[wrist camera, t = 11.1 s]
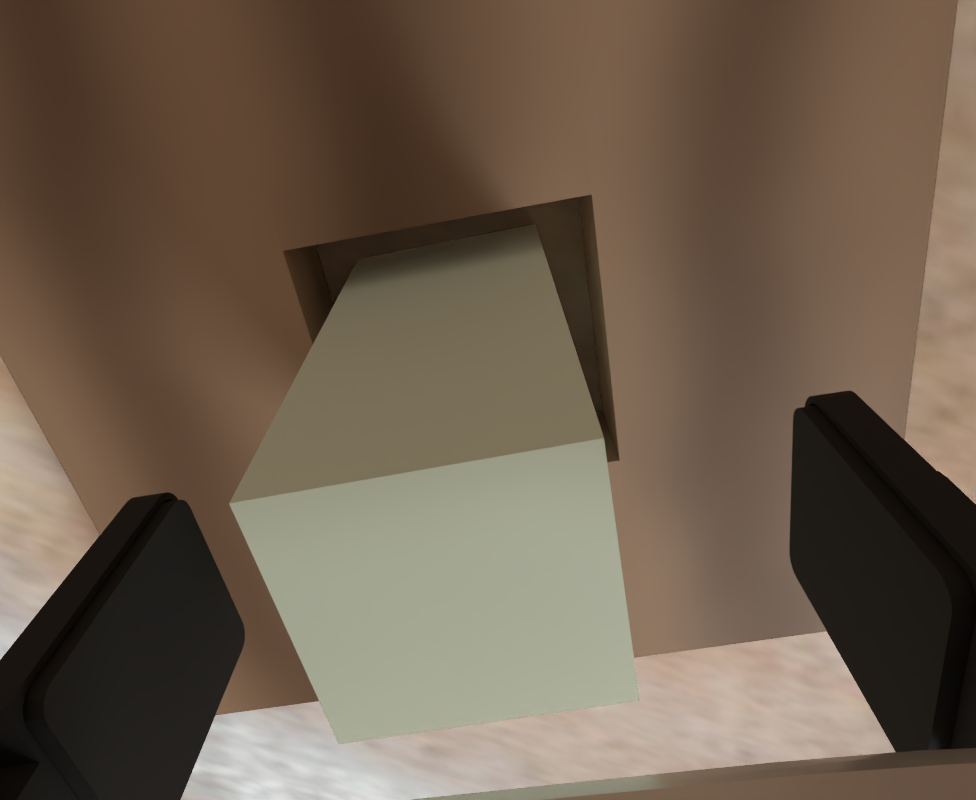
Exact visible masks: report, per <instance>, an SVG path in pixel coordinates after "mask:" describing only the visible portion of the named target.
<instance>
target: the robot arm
mask: <svg viewBox="0 0 976 800" xmlns="http://www.w3.org/2000/svg"><path fill="white" fill-rule="evenodd" d="M789 553H790V561H791V565H792V568H793V571H794V574H795V576H796V578H797V580H798V581H799V583H800V585H801V587H802V588H803V590H804V592H805V594H806V595H807V597H808V599H809V601H810V602H811V604H812V606H813V608H814V609H815V611H816V613H817V615H818V616H819V618H820V620H821V622H822V623H823V625H824V627H825V629H826V630H827V632H828V634H829V636H830V637H831V639H832V641H833V643H834V644H835V646H836V648H837V650H838V651H839V653H840V655H841V657H842V658H843V660H844V662H845V664H846V665H847V667H848V669H849V671H850V672H851V674H852V676H853V678H854V679H855V681H856V683H857V685H858V686H859V688H860V690H861V692H862V694H863V695H864V697H865V699H866V701H867V702H868V704H869V706H870V708H871V709H872V711H873V713H874V715H875V716H876V718H877V720H878V722H879V723H880V725H881V727H882V729H883V730H884V732H885V734H886V736H887V737H888V739H889V741H890V743H891V744H892V746H893V748H894V750H895V751H896V752H894V753H882V754H871V755H859V756H847V757H835V758H823V759H811V760H799V761H787V762H775V763H765V764H755V765H745V766H735V767H725V768H715V769H705V770H695V771H685V772H675V773H665V774H655V775H645V776H635V777H625V778H616V779H606V780H596V781H586V782H576V783H566V784H556V785H546V786H537V787H527V788H518V789H508V790H499V791H490V792H480V793H471V794H461V795H452V796H442V797H433V798H423V799H414V800H976V505H975V504H974V503H973V502H972V501H971V500H970V499H969V498H968V497H967V496H966V495H965V494H964V493H963V492H962V491H961V490H960V489H959V488H958V487H957V486H956V485H954V484H953V483H952V482H951V481H950V480H949V479H948V478H947V477H946V476H944V475H943V474H941V473H940V472H939V471H936V470H935V469H934V468H933V467H932V466H931V465H930V464H929V463H928V462H927V461H926V460H925V459H924V458H923V457H921V456H920V455H919V454H918V453H917V452H916V451H915V450H914V449H913V448H912V447H911V446H910V445H909V444H908V443H907V442H906V441H905V440H904V439H903V438H902V437H901V436H900V435H899V434H898V433H896V432H895V431H894V430H893V429H892V428H891V427H890V426H889V425H888V424H887V423H886V422H885V421H884V420H883V419H882V418H881V417H880V416H879V415H878V414H877V413H876V412H875V411H874V410H873V409H871V408H870V407H869V406H868V405H867V404H866V403H865V402H864V401H863V400H862V399H861V398H860V397H859V396H858V395H857V394H856V393H854V392H853V391H841V392H835V393H828V394H821V395H815V396H809V397H808V398H807V400H806V403H805V407H801V408H797V409H796V410H795V411H794V415H793V439H792V474H791V510H790V545H789ZM244 642H245V629H244V625H243V622H242V619H241V617H240V615H239V613H238V611H237V609H236V606H235V604H234V602H233V600H232V598H231V595H230V593H229V591H228V589H227V587H226V584H225V582H224V580H223V578H222V576H221V574H220V571H219V569H218V567H217V565H216V563H215V560H214V558H213V556H212V554H211V552H210V549H209V547H208V545H207V543H206V541H205V539H204V536H203V534H202V532H201V530H200V528H199V525H198V523H197V521H196V519H195V517H194V514H193V512H192V510H191V508H190V506H189V505H188V503H187V502H186V501H185V500H181V499H180V500H178V498H177V497H176V496H175V495H174V494H172V493H169V492H166V493H159V494H153V495H146V496H139V497H134V498H131V499H130V500H128V501H127V502H126V503H125V505H124V506H123V507H122V508H121V510H120V511H119V512H118V513H117V515H116V516H115V517H114V518H113V520H112V521H111V522H110V524H109V525H108V526H107V527H106V529H105V530H104V531H103V532H102V534H101V535H100V536H99V537H98V539H97V540H96V541H95V542H94V544H93V545H92V546H91V547H90V549H89V550H88V551H87V552H86V554H85V555H84V556H83V557H82V559H81V560H80V561H79V562H78V564H77V565H76V566H75V567H74V569H73V570H72V571H71V572H70V574H69V575H68V576H67V577H66V579H65V580H64V581H63V582H62V584H61V585H60V586H59V587H58V589H57V590H56V591H55V592H54V594H53V595H52V596H51V597H50V599H49V600H48V601H47V602H46V604H45V605H44V606H43V607H42V609H41V610H40V611H39V612H38V614H37V615H36V616H35V617H34V619H33V620H32V621H31V622H30V624H29V625H28V626H27V627H26V629H25V630H24V631H23V632H22V634H21V635H20V636H19V637H18V639H17V640H16V641H15V642H14V644H13V645H12V646H11V647H10V649H9V650H8V651H7V652H6V654H5V655H4V656H3V658H2V659H1V660H0V800H180V799H181V797H182V795H183V792H184V790H185V787H186V785H187V782H188V780H189V778H190V775H191V773H192V770H193V768H194V765H195V763H196V761H197V758H198V756H199V753H200V751H201V748H202V746H203V744H204V741H205V739H206V736H207V734H208V732H209V729H210V727H211V724H212V722H213V719H214V717H215V715H216V712H217V710H218V707H219V705H220V702H221V700H222V698H223V695H224V693H225V690H226V688H227V686H228V683H229V681H230V678H231V676H232V673H233V671H234V669H235V666H236V664H237V661H238V659H239V656H240V654H241V652H242V649H243V646H244Z"/></svg>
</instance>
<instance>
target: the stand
mask: <svg viewBox="0 0 976 800" xmlns="http://www.w3.org/2000/svg"><path fill="white" fill-rule="evenodd" d="M957 2H958V0H0V355H1V357H2V359H3V361H4V363H5V364H6V366H7V368H8V370H9V372H10V373H11V375H12V377H13V379H14V381H15V382H16V384H17V386H18V388H19V390H20V391H21V393H22V395H23V397H24V399H25V401H26V402H27V404H28V406H29V408H30V410H31V411H32V413H33V415H34V417H35V419H36V420H37V422H38V424H39V426H40V428H41V429H42V431H43V433H44V435H45V437H46V438H47V440H48V442H49V444H50V446H51V447H52V449H53V451H54V453H55V455H56V456H57V458H58V460H59V462H60V464H61V465H62V467H63V469H64V471H65V473H66V474H67V476H68V478H69V480H70V482H71V483H72V485H73V487H74V489H75V491H76V493H77V494H78V496H79V498H80V500H81V502H82V503H83V505H84V507H85V509H86V511H87V512H88V514H89V516H90V518H91V520H92V521H93V523H94V525H95V527H96V529H97V530H98V532H99V534H100V535H101V534H102V532H103V531H104V530H105V529H106V527H107V526H108V525H109V524H110V522H111V521H112V520H113V518H114V517H115V516H116V515H117V513H118V512H119V511H120V510H121V508H122V507H123V506H124V505H125V503H126V502H127V501H128V500H130V499H131V498H134V497H139V496H146V495H153V494H159V493H166V492H169V493H172V494H174V495H175V496H176V497H177V498H178V500H180V499H181V500H185V501H186V502H187V503H188V505H189V506H190V508H191V510H192V512H193V514H194V517H195V519H196V521H197V523H198V525H199V528H200V530H201V532H202V534H203V536H204V539H205V541H206V543H207V545H208V547H209V549H210V552H211V554H212V556H213V558H214V560H215V563H216V565H217V567H218V569H219V571H220V574H221V576H222V578H223V580H224V582H225V584H226V587H227V589H228V591H229V593H230V595H231V598H232V600H233V602H234V604H235V606H236V609H237V611H238V613H239V615H240V617H241V619H242V622H243V625H244V629H245V642H244V646H243V649H242V652H241V654H240V656H239V659H238V661H237V664H236V666H235V669H234V671H233V673H232V676H231V678H230V681H229V683H228V686H227V688H226V690H225V693H224V695H223V698H222V700H221V702H220V705H219V707H218V710H217V712H216V715H220V714H227V713H235V712H242V711H249V710H257V709H264V708H271V707H278V706H286V705H293V704H300V703H307V702H315V701H319V700H318V697H317V695H316V693H315V691H314V689H313V686H312V684H311V682H310V680H309V678H308V675H307V673H306V671H305V669H304V667H303V665H302V662H301V660H300V658H299V656H298V654H297V651H296V649H295V647H294V645H293V643H292V640H291V638H290V636H289V634H288V632H287V629H286V627H285V625H284V623H283V621H282V618H281V616H280V614H279V612H278V610H277V608H276V605H275V603H274V601H273V599H272V597H271V594H270V592H269V590H268V588H267V586H266V583H265V581H264V579H263V577H262V575H261V572H260V570H259V568H258V566H257V564H256V561H255V559H254V557H253V555H252V553H251V551H250V548H249V546H248V544H247V542H246V540H245V537H244V535H243V533H242V531H241V529H240V526H239V524H238V522H237V520H236V518H235V515H234V513H233V511H232V509H231V507H230V504H229V503H230V501H231V499H232V497H233V495H234V493H235V491H236V489H237V487H238V486H239V484H240V482H241V480H242V478H243V476H244V474H245V472H246V470H247V468H248V467H249V465H250V463H251V461H252V459H253V457H254V455H255V453H256V451H257V450H258V448H259V446H260V444H261V442H262V440H263V438H264V436H265V434H266V432H267V431H268V429H269V427H270V425H271V423H272V421H273V419H274V417H275V415H276V414H277V412H278V410H279V408H280V406H281V404H282V402H283V400H284V398H285V396H286V395H287V393H288V391H289V389H290V387H291V385H292V383H293V381H294V379H295V377H296V376H297V374H298V372H299V370H300V368H301V366H302V364H303V362H304V360H305V359H306V357H307V355H308V353H309V351H310V349H311V347H312V345H313V343H314V341H315V340H316V338H317V336H318V334H319V332H320V330H321V328H322V326H323V324H324V323H325V321H326V319H327V317H328V315H329V313H330V311H331V309H332V307H333V303H332V299H331V296H330V293H329V289H328V286H327V282H326V279H325V276H324V272H323V269H322V266H321V262H320V259H319V255H318V252H317V249H316V245H318V244H324V243H329V242H334V241H340V240H345V239H351V238H356V237H362V236H367V235H373V234H378V233H384V232H389V231H395V230H400V229H406V228H411V227H417V226H422V225H427V224H433V223H438V222H444V221H449V220H455V219H460V218H466V217H471V216H477V215H482V214H488V213H493V212H499V211H504V210H510V209H515V208H520V207H526V206H531V205H537V204H542V203H548V202H553V201H559V200H564V199H570V198H575V197H578V198H579V206H580V215H581V224H582V233H583V242H584V250H585V259H586V268H587V277H588V286H589V295H590V303H591V312H592V321H593V330H594V339H595V347H596V356H597V365H598V374H599V383H600V392H601V400H602V409H603V411H600V412H596V415H597V418H598V421H599V424H600V427H601V430H602V433H603V437H604V442H605V449H606V456H607V464H608V471H609V478H610V486H611V493H612V500H613V508H614V515H615V522H616V530H617V537H618V544H619V552H620V559H621V566H622V574H623V581H624V588H625V596H626V603H627V610H628V618H629V625H630V632H631V640H632V647H633V654H634V658H635V657H642V656H649V655H657V654H664V653H671V652H678V651H686V650H693V649H700V648H707V647H715V646H722V645H729V644H737V643H744V642H751V641H758V640H766V639H773V638H780V637H787V636H795V635H802V634H809V633H817V632H824V631H827V630H826V629H825V627H824V625H823V623H822V622H821V620H820V618H819V616H818V615H817V613H816V611H815V609H814V608H813V606H812V604H811V602H810V601H809V599H808V597H807V595H806V594H805V592H804V590H803V588H802V587H801V585H800V583H799V581H798V580H797V578H796V576H795V574H794V571H793V568H792V565H791V561H790V553H789V545H790V510H791V474H792V439H793V415H794V411H795V410H796V409H797V408H801V407H805V403H806V400H807V398H808V397H809V396H815V395H821V394H828V393H835V392H841V391H853V392H854V393H856V394H857V395H858V396H859V397H860V398H861V399H862V400H863V401H864V402H865V403H866V404H867V405H868V406H869V407H870V408H871V409H873V410H874V411H875V412H876V413H877V414H878V415H879V416H880V417H881V418H882V419H883V420H884V421H885V422H886V423H887V424H888V425H889V426H890V427H891V428H892V429H893V430H894V431H895V432H896V433H898V434H899V435H900V436H901V437H902V438H903V439H904V437H905V429H906V421H907V412H908V404H909V396H910V388H911V380H912V371H913V363H914V355H915V347H916V339H917V330H918V322H919V314H920V306H921V298H922V289H923V281H924V273H925V265H926V257H927V248H928V240H929V232H930V224H931V216H932V207H933V199H934V191H935V183H936V175H937V166H938V158H939V150H940V142H941V134H942V125H943V117H944V109H945V101H946V93H947V84H948V76H949V68H950V60H951V52H952V43H953V35H954V27H955V19H956V11H957Z"/></svg>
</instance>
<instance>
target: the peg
mask: <svg viewBox="0 0 976 800" xmlns="http://www.w3.org/2000/svg"><path fill="white" fill-rule="evenodd" d="M229 504H230V507H231V509H232V511H233V513H234V515H235V518H236V520H237V522H238V524H239V526H240V529H241V531H242V533H243V535H244V537H245V540H246V542H247V544H248V546H249V548H250V551H251V553H252V555H253V557H254V559H255V561H256V564H257V566H258V568H259V570H260V572H261V575H262V577H263V579H264V581H265V583H266V586H267V588H268V590H269V592H270V594H271V597H272V599H273V601H274V603H275V605H276V608H277V610H278V612H279V614H280V616H281V618H282V621H283V623H284V625H285V627H286V629H287V632H288V634H289V636H290V638H291V640H292V643H293V645H294V647H295V649H296V651H297V654H298V656H299V658H300V660H301V662H302V665H303V667H304V669H305V671H306V673H307V675H308V678H309V680H310V682H311V684H312V686H313V689H314V691H315V693H316V695H317V697H318V700H319V702H320V704H321V706H322V708H323V711H324V713H325V715H326V717H327V719H328V722H329V724H330V726H331V728H332V730H333V732H334V735H335V737H336V739H337V741H338V743H339V744H344V743H351V742H358V741H365V740H372V739H379V738H386V737H392V736H399V735H406V734H413V733H420V732H427V731H434V730H441V729H447V728H454V727H461V726H468V725H475V724H482V723H489V722H496V721H503V720H509V719H516V718H523V717H530V716H537V715H544V714H551V713H558V712H565V711H571V710H578V709H585V708H592V707H599V706H606V705H613V704H620V703H627V702H633V701H640V698H639V691H638V684H637V676H636V669H635V662H634V654H633V647H632V640H631V632H630V625H629V618H628V610H627V603H626V596H625V588H624V581H623V574H622V566H621V559H620V552H619V544H618V537H617V530H616V522H615V515H614V508H613V500H612V493H611V486H610V478H609V471H608V464H607V456H606V449H605V442H604V437H603V433H602V430H601V427H600V424H599V421H598V418H597V415H596V412H595V409H594V405H593V402H592V399H591V396H590V393H589V390H588V387H587V384H586V381H585V377H584V374H583V371H582V368H581V365H580V362H579V359H578V356H577V353H576V349H575V346H574V343H573V340H572V337H571V334H570V331H569V328H568V325H567V321H566V318H565V315H564V312H563V309H562V306H561V303H560V300H559V297H558V293H557V290H556V287H555V284H554V281H553V278H552V275H551V272H550V269H549V265H548V262H547V259H546V256H545V253H544V250H543V247H542V244H541V241H540V237H539V234H538V231H537V228H536V225H535V224H532V225H527V226H522V227H517V228H512V229H507V230H502V231H497V232H492V233H487V234H482V235H477V236H472V237H467V238H462V239H457V240H452V241H447V242H442V243H437V244H432V245H427V246H422V247H417V248H412V249H407V250H402V251H397V252H392V253H387V254H382V255H377V256H372V257H367V258H362V259H358V260H357V262H356V264H355V266H354V268H353V269H352V271H351V273H350V275H349V277H348V279H347V281H346V283H345V285H344V287H343V288H342V290H341V292H340V294H339V296H338V298H337V300H336V302H335V304H334V305H333V307H332V309H331V311H330V313H329V315H328V317H327V319H326V321H325V323H324V324H323V326H322V328H321V330H320V332H319V334H318V336H317V338H316V340H315V341H314V343H313V345H312V347H311V349H310V351H309V353H308V355H307V357H306V359H305V360H304V362H303V364H302V366H301V368H300V370H299V372H298V374H297V376H296V377H295V379H294V381H293V383H292V385H291V387H290V389H289V391H288V393H287V395H286V396H285V398H284V400H283V402H282V404H281V406H280V408H279V410H278V412H277V414H276V415H275V417H274V419H273V421H272V423H271V425H270V427H269V429H268V431H267V432H266V434H265V436H264V438H263V440H262V442H261V444H260V446H259V448H258V450H257V451H256V453H255V455H254V457H253V459H252V461H251V463H250V465H249V467H248V468H247V470H246V472H245V474H244V476H243V478H242V480H241V482H240V484H239V486H238V487H237V489H236V491H235V493H234V495H233V497H232V499H231V501H230V503H229Z"/></svg>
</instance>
